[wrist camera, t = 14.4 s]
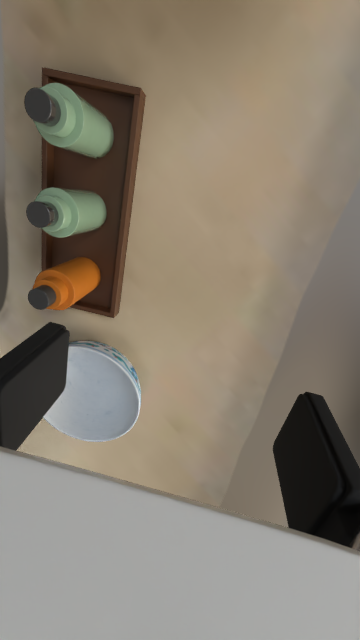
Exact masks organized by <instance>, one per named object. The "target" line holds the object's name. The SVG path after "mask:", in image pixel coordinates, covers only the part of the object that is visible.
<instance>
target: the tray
mask: <svg viewBox="0 0 360 640" xmlns="http://www.w3.org/2000/svg"><path fill="white" fill-rule="evenodd" d="M50 83H60V84H63V85H65V86H67V87H69V88H70V89H71V90H73V91H74V92H75V93H77V94H78V95H79V96H81V97H82V98H83V99H85V100H86V101H87V102H89V103H90V104H91V105H93V106H94V107H95V108H97V109H98V110H99V111H101V112H102V113H103V114H104V115H106V117H107V118H108V119H109V121H110V123H111V125H112V128H113V132H114V140H113V145H112V147H111V149H110V151H109V152H108V153H107V154H106V155H105V156H103V157H101V158H90V157H87V156H84V155H81V154H78V153H75V152H72V151H69V150H66V149H63V148H60V147H57V146H54V145H52V144H50V143H49V142H47V141H46V140H45V139H44V138H43V137H42V190H44V189H46V188H51V187H55V188H68V189H80V190H90V191H93V192H95V193H97V194H98V195H99V196H100V197H101V198H102V200H103V201H104V203H105V206H106V210H107V216H106V220H105V222H104V224H103V225H102V226H101V227H100V228H99V229H97V230H94V231H89V232H85V233H81V234H77V235H72V236H68V237H64V238H58V237H54V236H51V235H49V234H48V233H46V232H45V231H44V230H43V229H42V271H45V270H47V269H50V268H52V267H55V266H57V265H60V264H62V263H65V262H67V261H70V260H72V259H75V258H78V257H86V258H88V259H90V260H92V261H93V262H94V263H95V264H96V265H97V266H98V268H99V270H100V273H101V280H100V283H99V285H98V286H97V287H96V288H95V289H94V290H92V291H91V292H90V293H88V294H87V295H85V296H84V297H83V298H81V299H80V300H78V301H77V302H75V303H74V304H73V305H71V306H70V307H71V308H75V309H79V310H84V311H88V312H92V313H96V314H100V315H104V316H108V317H112V318H114V317H115V316H116V315H117V314H118V313H119V306H120V298H121V290H122V282H123V274H124V266H125V258H126V250H127V242H128V234H129V226H130V218H131V210H132V202H133V194H134V185H135V177H136V169H137V161H138V153H139V145H140V137H141V129H142V121H143V113H144V105H145V97H146V95H145V94H144V92H143V91H142V89H141V88H138V87H133V86H128V85H124V84H119V83H114V82H109V81H105V80H100V79H95V78H90V77H86V76H81V75H76V74H72V73H67V72H62V71H57V70H53V69H48V68H42V87H43V86H45V85H47V84H50Z"/></svg>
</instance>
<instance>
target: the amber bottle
mask: <svg viewBox="0 0 360 640" xmlns="http://www.w3.org/2000/svg"><path fill="white" fill-rule="evenodd" d="M100 280H101V273H100V270H99V268H98V266H97V265H96V264H95V263H94V262H93V261H92V260H90V259H88V258H86V257H78V258H75V259H72V260H70V261H67V262H65V263H62V264H60V265H57V266H55V267H52V268H50V269H47V270H45V271H42V272H41V273H40V274H39V275H38V276H37V278H36V280H35V284H34V286H33V289H32V290H31V291H30V292H29V294H28V300H29V302H30V304H31V305H32V306H33V307H34V308H36V309H40V310H42V309H54V310H64V309H67V308H68V307H70V306H71V305H73V304H74V303H75V302H77V301H78V300H80V299H81V298H83V297H84V296H85V295H87V294H88V293H90V292H91V291H92V290H94V289H95V288H96V287H97V286H98V285H99V283H100Z"/></svg>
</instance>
